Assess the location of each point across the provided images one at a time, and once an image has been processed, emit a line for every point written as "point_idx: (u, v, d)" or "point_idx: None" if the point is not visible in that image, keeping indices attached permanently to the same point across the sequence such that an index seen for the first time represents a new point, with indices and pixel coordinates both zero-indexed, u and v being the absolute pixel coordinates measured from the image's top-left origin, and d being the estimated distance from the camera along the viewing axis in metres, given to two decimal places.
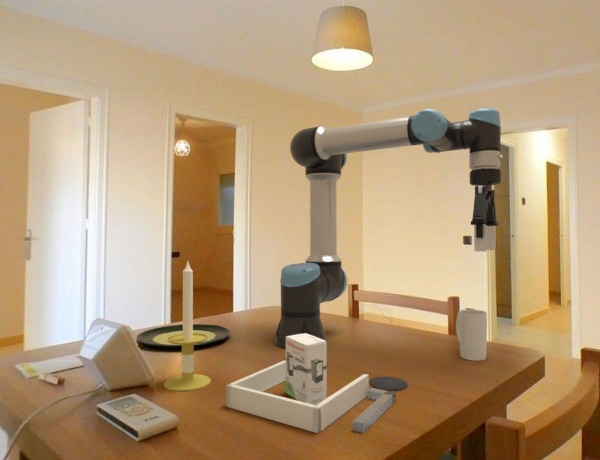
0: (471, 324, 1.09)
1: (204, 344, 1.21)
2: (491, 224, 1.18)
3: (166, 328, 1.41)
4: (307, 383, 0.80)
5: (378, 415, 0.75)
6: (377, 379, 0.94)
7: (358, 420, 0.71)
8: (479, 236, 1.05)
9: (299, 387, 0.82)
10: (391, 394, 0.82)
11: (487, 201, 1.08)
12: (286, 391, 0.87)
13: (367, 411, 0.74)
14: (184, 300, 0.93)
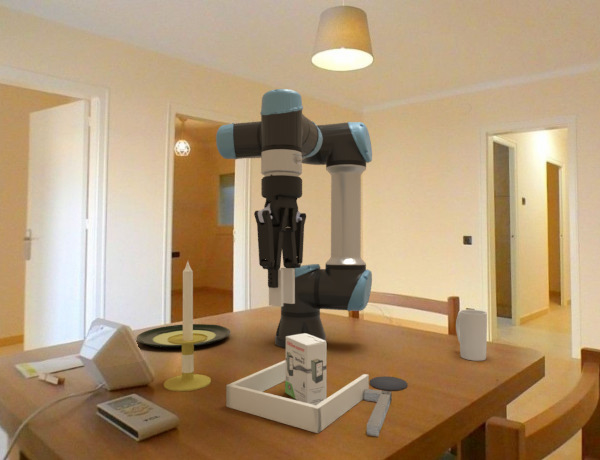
0: (471, 324, 1.09)
1: (204, 344, 1.21)
2: (290, 263, 0.80)
3: (166, 328, 1.41)
4: (307, 383, 0.80)
5: (384, 416, 0.75)
6: (377, 379, 0.94)
7: (371, 423, 0.69)
8: (271, 285, 0.76)
9: (299, 387, 0.82)
10: (388, 393, 0.82)
11: (279, 229, 0.76)
12: (286, 391, 0.87)
13: (375, 412, 0.73)
14: (184, 300, 0.93)
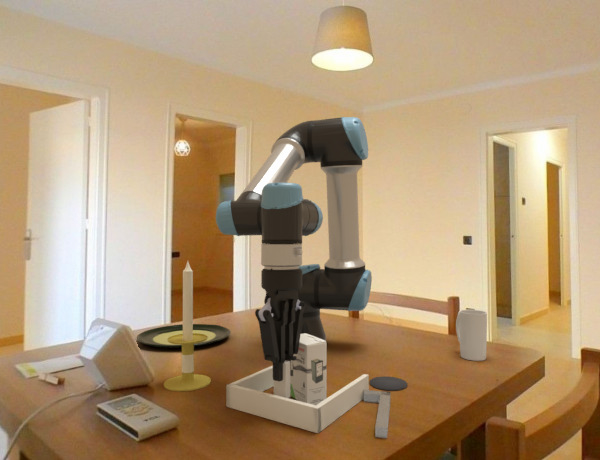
0: (471, 324, 1.09)
1: (203, 344, 1.21)
2: (285, 355, 0.79)
3: (167, 328, 1.41)
4: (307, 383, 0.80)
5: (388, 417, 0.74)
6: (377, 379, 0.94)
7: (380, 425, 0.69)
8: (276, 379, 0.77)
9: (299, 387, 0.82)
10: (388, 394, 0.82)
11: (281, 323, 0.76)
12: None
13: (380, 414, 0.73)
14: (184, 300, 0.93)
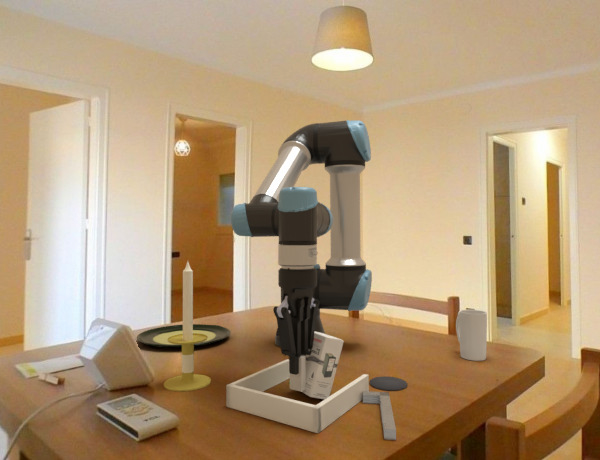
0: (471, 324, 1.09)
1: (203, 344, 1.21)
2: (301, 350, 0.83)
3: (167, 328, 1.41)
4: (316, 374, 0.82)
5: None
6: (377, 379, 0.94)
7: (388, 427, 0.68)
8: (292, 372, 0.81)
9: (307, 377, 0.83)
10: (387, 394, 0.82)
11: (297, 320, 0.81)
12: None
13: (386, 415, 0.72)
14: (184, 300, 0.93)
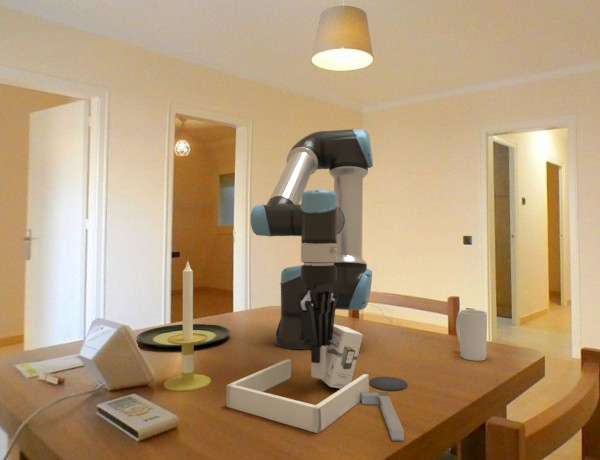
0: (471, 324, 1.09)
1: (203, 344, 1.21)
2: (321, 341, 0.90)
3: (167, 328, 1.41)
4: (335, 365, 0.87)
5: None
6: (377, 379, 0.94)
7: (396, 428, 0.68)
8: (314, 361, 0.88)
9: (328, 369, 0.89)
10: (386, 395, 0.82)
11: (319, 313, 0.87)
12: None
13: (390, 416, 0.72)
14: (184, 300, 0.93)
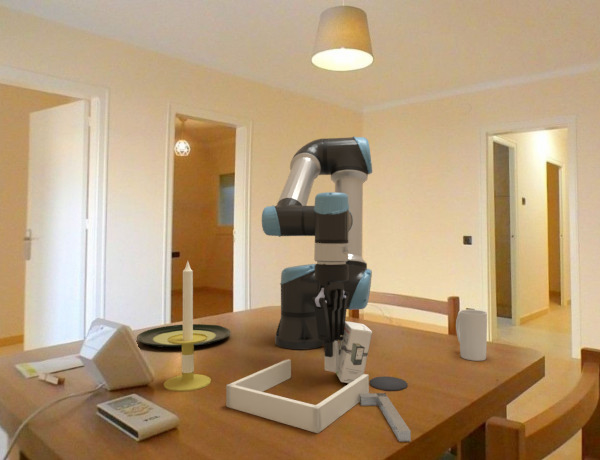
0: (471, 324, 1.09)
1: (203, 344, 1.21)
2: None
3: (167, 328, 1.41)
4: (345, 361, 0.91)
5: None
6: (377, 379, 0.94)
7: (402, 429, 0.67)
8: (327, 355, 0.93)
9: (340, 364, 0.93)
10: (384, 395, 0.81)
11: (332, 309, 0.92)
12: None
13: (394, 417, 0.72)
14: (184, 300, 0.93)
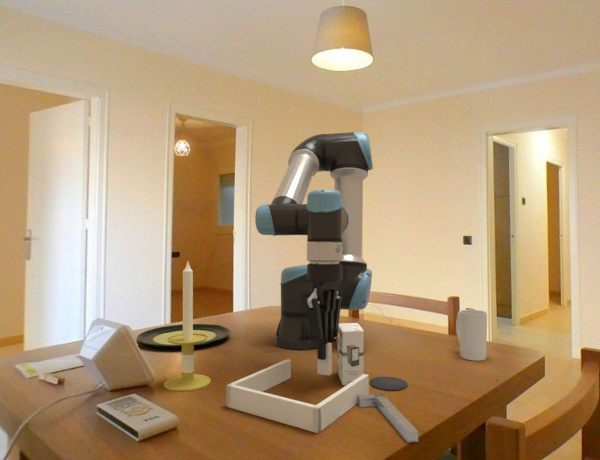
0: (471, 324, 1.09)
1: (203, 344, 1.21)
2: (327, 338, 0.92)
3: (167, 328, 1.41)
4: (343, 365, 0.91)
5: None
6: (377, 379, 0.94)
7: (409, 429, 0.67)
8: (320, 358, 0.90)
9: (340, 368, 0.94)
10: (382, 396, 0.81)
11: (325, 310, 0.89)
12: (337, 371, 0.99)
13: (398, 418, 0.71)
14: (184, 300, 0.93)
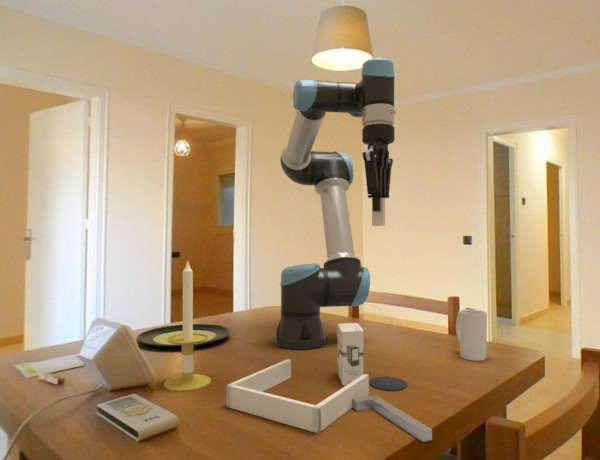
0: (471, 324, 1.09)
1: (203, 344, 1.21)
2: None
3: (168, 328, 1.41)
4: (343, 365, 0.91)
5: None
6: (377, 379, 0.94)
7: (423, 428, 0.67)
8: (375, 209, 1.00)
9: (340, 368, 0.94)
10: (377, 397, 0.80)
11: (380, 166, 0.99)
12: (337, 371, 0.99)
13: (405, 418, 0.71)
14: (184, 300, 0.93)
